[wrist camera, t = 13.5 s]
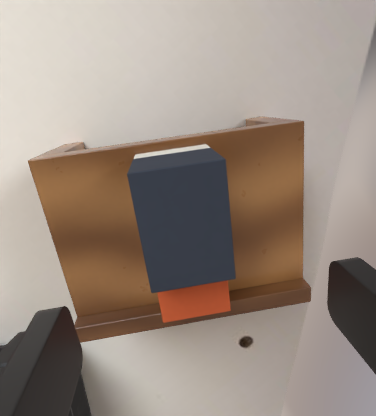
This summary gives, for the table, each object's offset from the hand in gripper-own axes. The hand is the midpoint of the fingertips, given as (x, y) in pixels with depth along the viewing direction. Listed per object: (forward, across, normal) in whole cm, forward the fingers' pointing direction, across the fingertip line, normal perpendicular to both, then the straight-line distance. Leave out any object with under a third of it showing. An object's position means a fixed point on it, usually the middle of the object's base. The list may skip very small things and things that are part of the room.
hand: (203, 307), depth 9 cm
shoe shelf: (+17, 0, +2) cm, 17 cm away
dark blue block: (+10, 0, +1) cm, 10 cm away
